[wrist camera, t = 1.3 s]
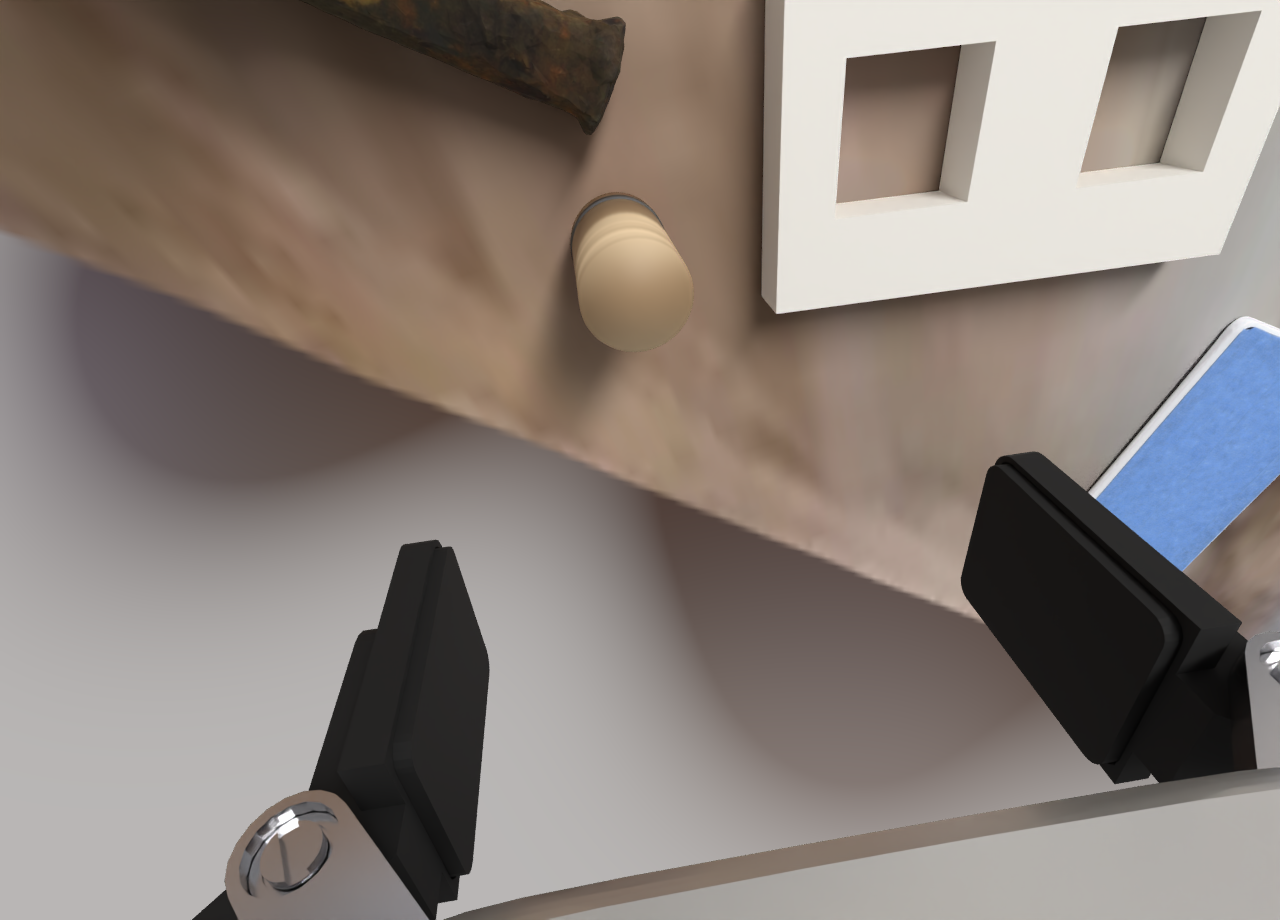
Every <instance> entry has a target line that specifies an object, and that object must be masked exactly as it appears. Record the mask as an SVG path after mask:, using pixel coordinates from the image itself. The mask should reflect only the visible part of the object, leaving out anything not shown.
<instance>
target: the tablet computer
mask: <svg viewBox="0 0 1280 920" xmlns="http://www.w3.org/2000/svg"><path fill="white" fill-rule="evenodd" d="M1278 475H1280V329H1279V328H1276V327H1274V326H1272V325H1269V324H1267V323H1264V322H1262V321H1259V320H1257V319H1254V318H1252V317H1248V316H1246V317H1241V318H1238V319H1236V320H1235V321H1234V322H1232V323H1231V324H1230V325H1229V326H1228V327H1227V328H1226V329H1225V331H1224V332H1223V333H1222V334H1221V335H1220V337H1219V338H1218V339H1217V340H1216V342H1215V343H1214V344H1213V345H1212V347H1211V348H1210V349H1209V350H1208V352H1207V353H1206V354H1205V355H1204V356H1203V358H1202V359H1201V360H1200V361H1199V362H1198V364H1197V365H1196V366H1195V367H1194V369H1193V370H1192V371H1191V372H1190V373H1189V374H1188V376H1187V377H1186V378H1185V379H1184V380H1183V382H1182V383H1181V384H1180V385H1179V386H1178V387H1177V389H1176V390H1175V391H1174V392H1173V393H1172V395H1171V396H1170V397H1169V398H1168V399H1167V400H1166V402H1165V403H1164V404H1163V405H1162V406H1161V408H1160V409H1159V410H1158V411H1157V412H1156V413H1155V415H1154V416H1153V417H1152V418H1151V419H1150V421H1149V422H1148V423H1147V424H1146V425H1145V426H1144V428H1143V429H1142V430H1141V431H1140V432H1139V433H1138V435H1137V436H1136V437H1135V438H1134V439H1133V440H1132V442H1131V443H1130V444H1129V445H1128V446H1127V447H1126V449H1125V450H1124V451H1123V452H1122V453H1121V454H1120V456H1119V457H1118V458H1117V459H1116V460H1115V461H1114V463H1113V464H1112V465H1111V466H1110V467H1109V468H1108V470H1107V471H1106V472H1105V473H1104V474H1103V475H1102V477H1101V478H1100V479H1099V480H1098V481H1097V482H1096V484H1095V485H1094V486H1093V487H1092V488H1091V489H1090V491H1089V492H1088V493H1089V494H1090V495H1091V496H1092V497H1094V498H1095V499H1096V500H1097V501H1098V502H1100V503H1101V504H1102V505H1103V506H1104V507H1105V508H1107V509H1108V510H1109V511H1110V512H1111V513H1113V514H1114V515H1115V516H1116V517H1117V518H1119V519H1120V520H1121V521H1122V522H1123V523H1125V524H1126V525H1127V526H1128V527H1129V528H1130V529H1132V530H1133V531H1134V532H1135V533H1136V534H1138V535H1139V536H1140V537H1141V538H1142V539H1144V540H1145V541H1146V542H1147V543H1148V544H1149V545H1151V546H1152V547H1153V548H1154V549H1155V550H1157V551H1158V552H1159V553H1160V554H1161V555H1163V556H1164V557H1165V558H1166V559H1167V560H1169V561H1170V562H1171V563H1172V564H1173V565H1174V566H1176V567H1177V568H1178V569H1179V570H1180V571H1183V570H1184V569H1185V568H1186V567H1187V566H1188V565H1189V564H1190V563H1191V562H1192V561H1193V560H1194V559H1195V558H1196V557H1197V556H1198V555H1199V554H1200V553H1201V552H1202V551H1203V550H1204V549H1205V548H1206V547H1207V546H1208V545H1209V544H1210V543H1211V542H1212V541H1213V540H1214V539H1215V538H1216V537H1217V536H1218V535H1219V534H1220V533H1221V532H1222V531H1223V530H1224V529H1225V528H1226V527H1227V526H1228V525H1229V524H1230V523H1231V522H1232V521H1233V520H1234V519H1235V518H1236V517H1237V516H1238V515H1239V514H1240V513H1241V512H1242V511H1243V510H1244V509H1245V508H1246V507H1247V506H1248V505H1249V504H1250V503H1251V502H1252V501H1253V500H1254V499H1255V498H1256V497H1257V496H1258V495H1259V494H1260V493H1261V492H1262V491H1263V490H1264V489H1265V488H1266V487H1267V486H1268V485H1269V484H1270V483H1271V482H1272V481H1273V480H1274V479H1275V478H1276V477H1277V476H1278Z"/></svg>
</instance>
